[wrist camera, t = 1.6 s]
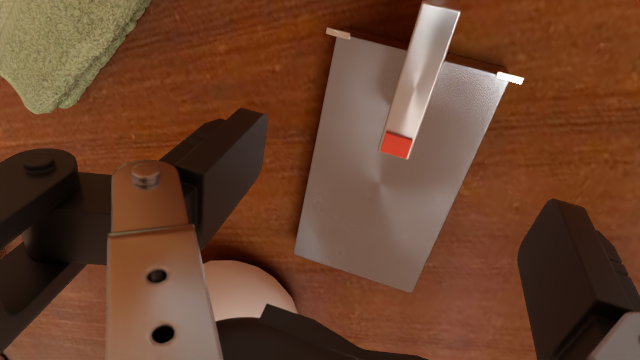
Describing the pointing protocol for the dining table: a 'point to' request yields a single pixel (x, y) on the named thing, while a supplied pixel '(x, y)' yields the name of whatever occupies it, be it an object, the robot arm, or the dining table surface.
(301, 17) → the dining table surface
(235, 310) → the cup
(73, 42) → the washcloth
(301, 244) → the base
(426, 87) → the spout
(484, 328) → the dining table surface
